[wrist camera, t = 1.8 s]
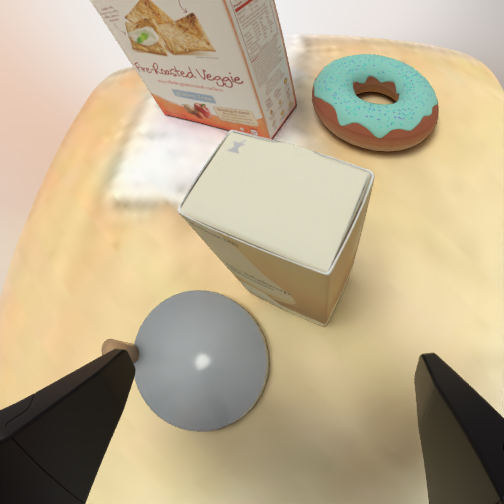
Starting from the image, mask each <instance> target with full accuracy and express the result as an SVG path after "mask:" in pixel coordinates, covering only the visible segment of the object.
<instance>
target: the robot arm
mask: <svg viewBox="0 0 504 504" xmlns="http://www.w3.org/2000/svg"><path fill="white" fill-rule="evenodd" d="M135 373H136V369H135V366H134V363H133V361H132V359H131V357H130V355H129V353H128V351H127V350H125V349H120V348H115V349H113V350H111V351H109V352H108V353H106V354H104V355H102V356H101V357H99V358H97V359H95V360H93V361H92V362H90V363H88V364H86V365H85V366H83V367H81V368H79V369H77V370H76V371H74V372H72V373H70V374H68V375H67V376H65V377H63V378H61V379H59V380H58V381H56V382H54V383H52V384H50V385H49V386H47V387H45V388H43V389H41V390H40V391H38V392H36V393H35V394H32V395H30V396H29V397H27V398H25V399H23V400H21V401H19V402H17V403H15V404H13V405H11V406H9V407H6V408H4V409H2V410H0V504H85V503H86V500H87V498H88V495H89V493H90V490H91V487H92V485H93V482H94V480H95V477H96V475H97V472H98V470H99V467H100V465H101V462H102V460H103V457H104V455H105V453H106V450H107V448H108V445H109V443H110V441H111V438H112V436H113V434H114V431H115V429H116V427H117V424H118V422H119V420H120V417H121V415H122V412H123V410H124V407H125V404H126V401H127V398H128V395H129V392H130V389H131V386H132V383H133V379H134V376H135ZM414 380H415V391H416V402H417V415H418V427H419V434H420V440H421V445H422V452H423V458H424V465H425V472H426V480H427V488H428V498H429V504H504V418H503V417H502V416H501V415H500V414H499V413H498V412H497V411H496V410H495V409H494V408H493V407H492V406H491V405H490V404H489V403H488V402H487V401H486V400H485V399H484V398H483V397H482V396H481V395H479V394H478V393H477V392H476V391H475V390H474V389H473V388H472V387H471V386H470V385H469V384H468V383H467V382H466V381H465V380H464V379H463V378H461V377H460V376H459V375H458V374H457V373H456V372H455V371H454V370H453V369H452V368H451V367H450V366H448V365H447V364H446V363H445V362H444V361H443V360H442V359H441V358H440V357H439V356H438V355H436V354H435V353H425V354H421V355H420V357H419V361H418V365H417V369H416V372H415V379H414Z"/></svg>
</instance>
